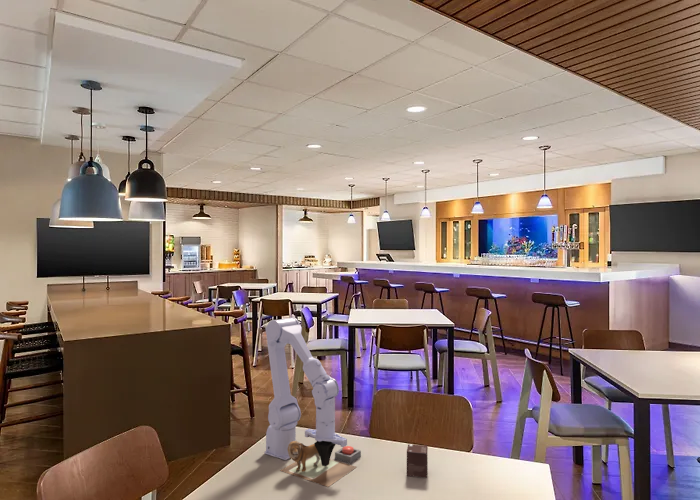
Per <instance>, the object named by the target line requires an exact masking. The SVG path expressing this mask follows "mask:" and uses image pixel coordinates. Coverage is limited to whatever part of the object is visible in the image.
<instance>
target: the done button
mask: <svg viewBox="0 0 700 500" xmlns="http://www.w3.org/2000/svg"><path fill="white" fill-rule="evenodd" d="M341 449H342V453H343V454H346V455H352V454H353V453H354V449H355V448H354V447H353V446H351V445H346V446H344V447H341Z"/></svg>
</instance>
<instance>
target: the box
mask: <svg viewBox="0 0 700 500" xmlns="http://www.w3.org/2000/svg"><path fill="white" fill-rule="evenodd" d="M428 459H429V458H428V445H426V444H425V445H424V444H414V443H413V444H410V443H408V444H407V449H406V476H407V477H413V478H424V479H425V478H427V477H428V470H429V469H428V467H429V466H428V461H429V460H428Z"/></svg>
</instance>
